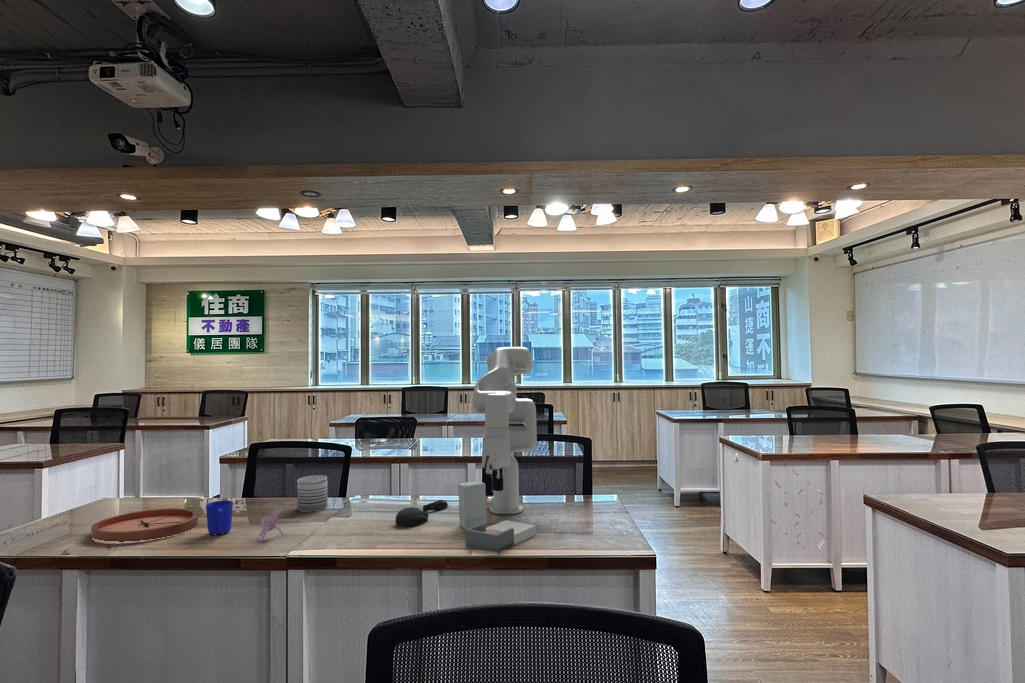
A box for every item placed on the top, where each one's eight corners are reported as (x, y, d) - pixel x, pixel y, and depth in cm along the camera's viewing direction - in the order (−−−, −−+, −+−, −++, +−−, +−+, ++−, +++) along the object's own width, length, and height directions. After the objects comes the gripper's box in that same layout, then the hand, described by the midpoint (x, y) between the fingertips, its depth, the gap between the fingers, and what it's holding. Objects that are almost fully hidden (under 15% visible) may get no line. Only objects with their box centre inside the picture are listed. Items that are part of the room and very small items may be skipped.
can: (333, 507, 235) (333, 476, 235) (310, 513, 225) (310, 481, 225) (314, 503, 241) (314, 473, 241) (290, 510, 231) (290, 479, 232)
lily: (265, 535, 201) (251, 513, 198) (298, 520, 203) (284, 498, 199) (259, 557, 190) (244, 534, 187) (294, 541, 192) (280, 518, 188)
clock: (67, 529, 195) (149, 506, 225) (67, 541, 195) (149, 517, 225) (143, 535, 186) (218, 510, 217) (143, 548, 186) (218, 522, 216)
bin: (465, 546, 183) (465, 529, 183) (483, 538, 190) (483, 522, 191) (496, 552, 176) (496, 535, 176) (514, 544, 184) (513, 528, 184)
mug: (206, 541, 192) (206, 510, 192) (205, 531, 203) (206, 502, 203) (234, 537, 196) (234, 506, 196) (232, 528, 206) (232, 499, 207)
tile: (478, 541, 184) (478, 533, 184) (490, 536, 189) (490, 528, 189) (494, 545, 180) (494, 536, 181) (505, 539, 185) (505, 531, 185)
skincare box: (480, 522, 210) (479, 479, 210) (487, 526, 204) (486, 483, 205) (458, 525, 206) (457, 482, 206) (464, 529, 201) (463, 485, 201)
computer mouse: (389, 527, 205) (389, 511, 206) (431, 505, 236) (431, 491, 236) (414, 530, 202) (414, 513, 203) (453, 507, 233) (453, 493, 233)
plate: (483, 538, 190) (483, 529, 191) (505, 529, 201) (505, 520, 201) (514, 544, 184) (514, 534, 184) (535, 534, 194) (535, 525, 194)
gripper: (501, 428, 196) (502, 484, 196) (473, 434, 184) (473, 493, 184) (520, 430, 192) (520, 487, 192) (492, 435, 180) (493, 496, 180)
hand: (497, 490), depth 188 cm, fingers closed
